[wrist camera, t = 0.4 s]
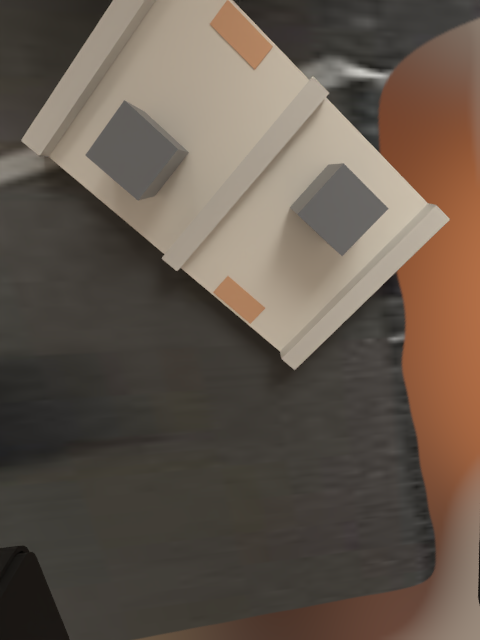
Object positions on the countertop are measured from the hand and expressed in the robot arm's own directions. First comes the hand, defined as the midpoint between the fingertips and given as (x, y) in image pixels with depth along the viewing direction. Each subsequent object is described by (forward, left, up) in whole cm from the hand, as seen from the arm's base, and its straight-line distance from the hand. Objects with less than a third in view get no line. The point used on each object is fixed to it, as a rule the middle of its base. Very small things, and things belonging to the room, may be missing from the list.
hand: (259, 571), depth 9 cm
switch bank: (-5, -5, -28) cm, 29 cm away
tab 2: (-8, +1, -26) cm, 27 cm away
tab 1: (-2, -11, -26) cm, 29 cm away
